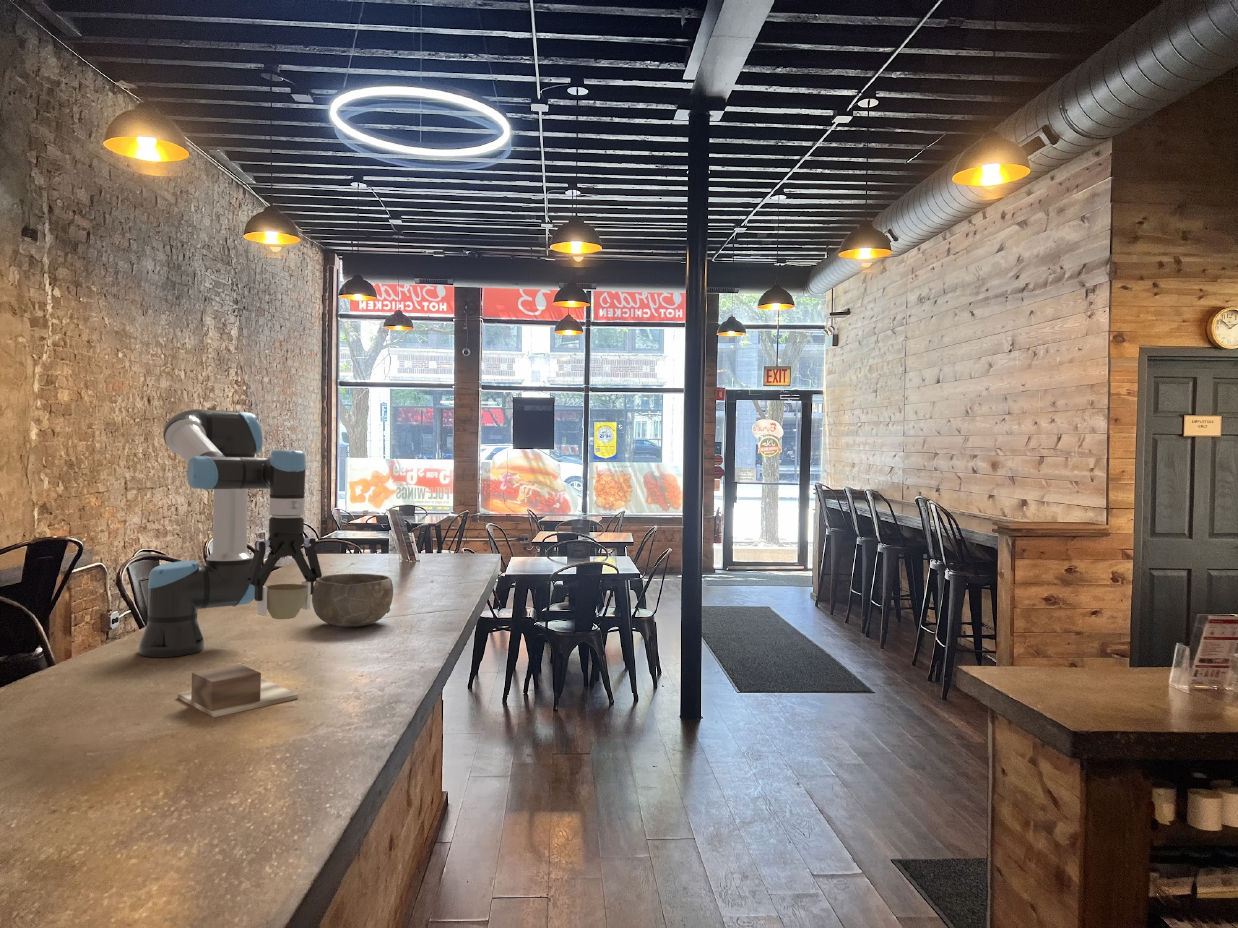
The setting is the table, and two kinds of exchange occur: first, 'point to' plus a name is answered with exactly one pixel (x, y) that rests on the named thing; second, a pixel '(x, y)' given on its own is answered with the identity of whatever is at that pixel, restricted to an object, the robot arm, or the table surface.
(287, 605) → the flower pot
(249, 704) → the board
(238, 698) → the pedestal
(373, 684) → the table surface
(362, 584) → the bowl
